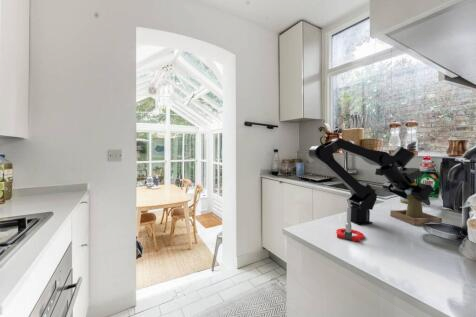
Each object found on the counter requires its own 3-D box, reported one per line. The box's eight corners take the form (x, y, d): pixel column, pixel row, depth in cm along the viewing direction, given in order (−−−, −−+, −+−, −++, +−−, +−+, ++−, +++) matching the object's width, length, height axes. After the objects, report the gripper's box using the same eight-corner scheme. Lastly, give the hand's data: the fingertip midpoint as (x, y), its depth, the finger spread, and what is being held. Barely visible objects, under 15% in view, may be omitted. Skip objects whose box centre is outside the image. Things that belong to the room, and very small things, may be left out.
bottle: (414, 202, 116) (415, 175, 115) (417, 204, 110) (418, 176, 109) (398, 200, 120) (399, 174, 119) (400, 203, 114) (401, 175, 113)
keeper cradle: (414, 225, 80) (414, 219, 80) (390, 216, 92) (390, 210, 92) (441, 224, 81) (442, 218, 81) (414, 215, 93) (414, 209, 93)
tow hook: (338, 229, 78) (333, 237, 70) (339, 195, 78) (335, 199, 70) (364, 235, 73) (362, 243, 66) (365, 198, 73) (364, 202, 65)
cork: (416, 223, 83) (417, 195, 82) (401, 218, 89) (402, 192, 88) (427, 221, 85) (428, 194, 84) (411, 217, 90) (412, 192, 90)
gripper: (430, 162, 76) (456, 192, 77) (389, 160, 95) (411, 183, 96) (409, 184, 76) (436, 213, 77) (372, 177, 94) (394, 201, 96)
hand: (418, 201), depth 86 cm, fingers open, 9 cm apart
